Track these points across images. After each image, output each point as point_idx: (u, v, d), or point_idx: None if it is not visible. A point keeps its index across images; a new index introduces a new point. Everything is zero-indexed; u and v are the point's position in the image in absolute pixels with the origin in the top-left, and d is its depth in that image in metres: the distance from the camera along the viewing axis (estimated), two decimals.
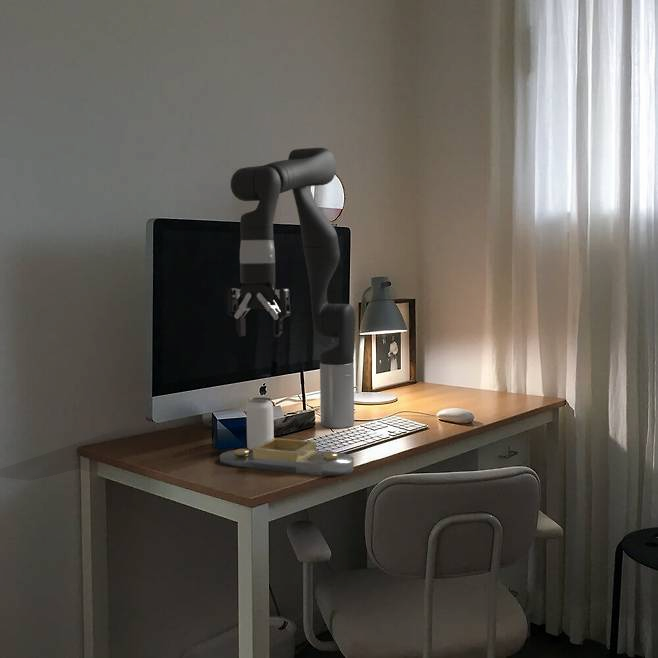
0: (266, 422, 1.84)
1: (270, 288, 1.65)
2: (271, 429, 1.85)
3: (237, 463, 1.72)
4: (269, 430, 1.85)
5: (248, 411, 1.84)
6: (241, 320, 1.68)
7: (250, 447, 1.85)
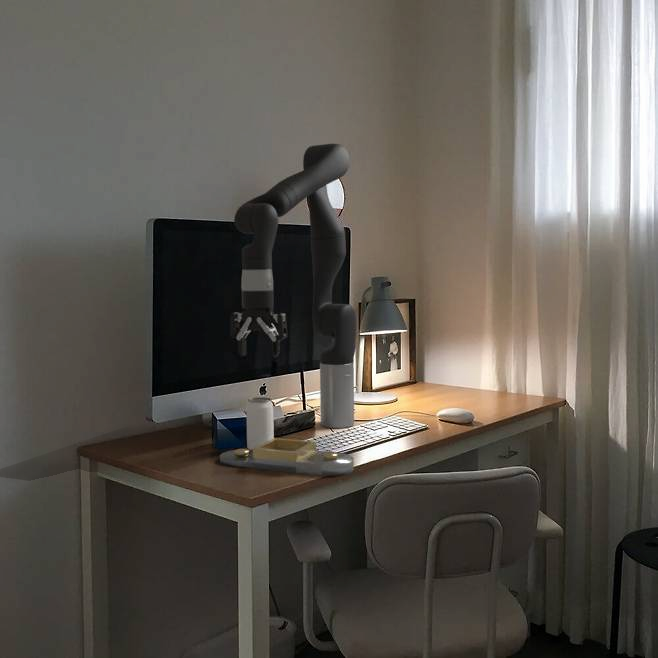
0: (266, 422, 1.84)
1: (269, 313, 1.82)
2: (271, 429, 1.85)
3: (237, 463, 1.72)
4: (269, 430, 1.85)
5: (248, 411, 1.84)
6: (242, 341, 1.86)
7: (250, 447, 1.85)
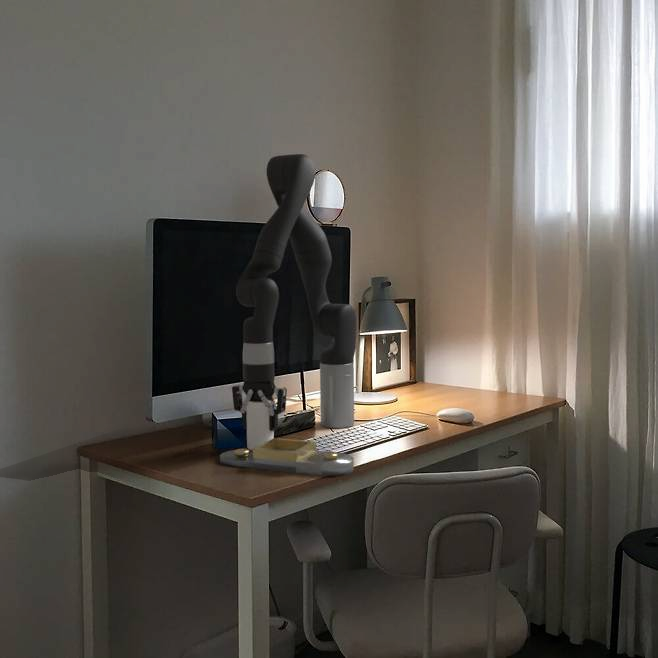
0: (266, 422, 1.84)
1: (270, 386, 1.83)
2: None
3: (237, 463, 1.72)
4: (269, 430, 1.85)
5: (248, 411, 1.84)
6: (246, 414, 1.87)
7: (250, 447, 1.85)
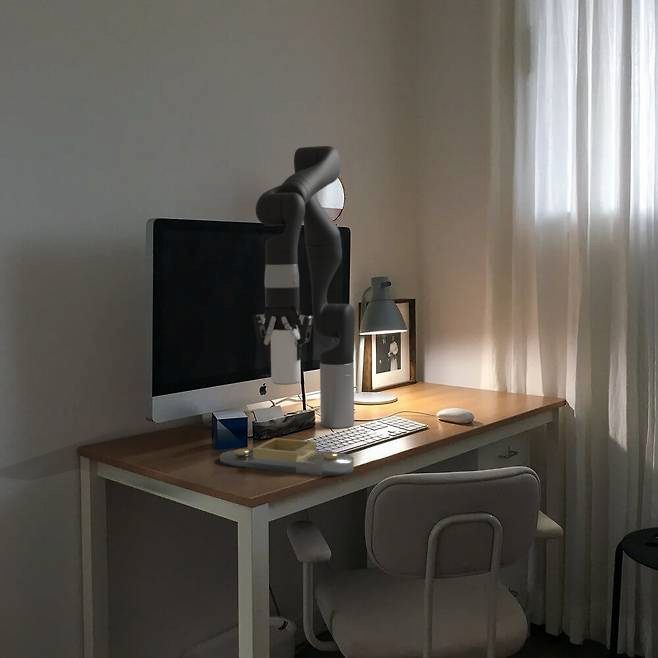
0: (293, 352, 1.67)
1: (295, 312, 1.67)
2: (298, 360, 1.69)
3: (237, 463, 1.72)
4: (296, 361, 1.68)
5: (273, 340, 1.68)
6: (270, 346, 1.70)
7: (275, 380, 1.68)
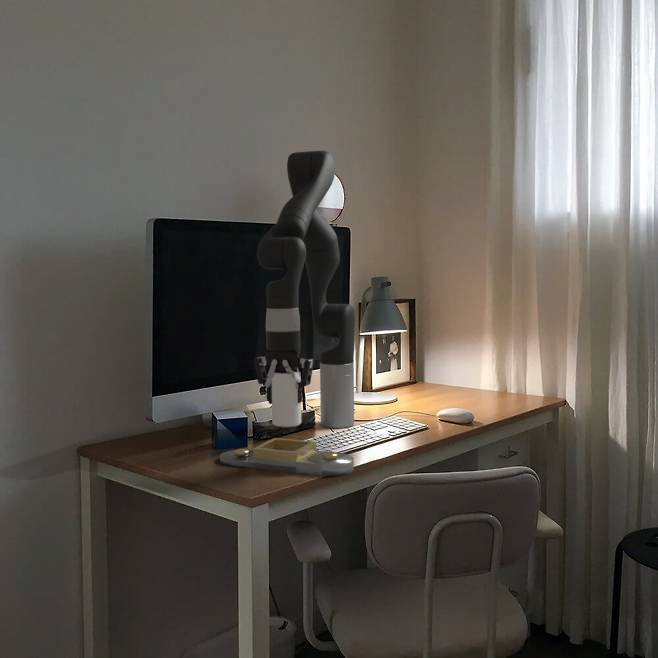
0: (294, 395, 1.68)
1: (296, 356, 1.68)
2: (299, 403, 1.70)
3: (237, 463, 1.72)
4: (297, 404, 1.69)
5: (274, 383, 1.69)
6: (271, 388, 1.71)
7: (276, 423, 1.69)
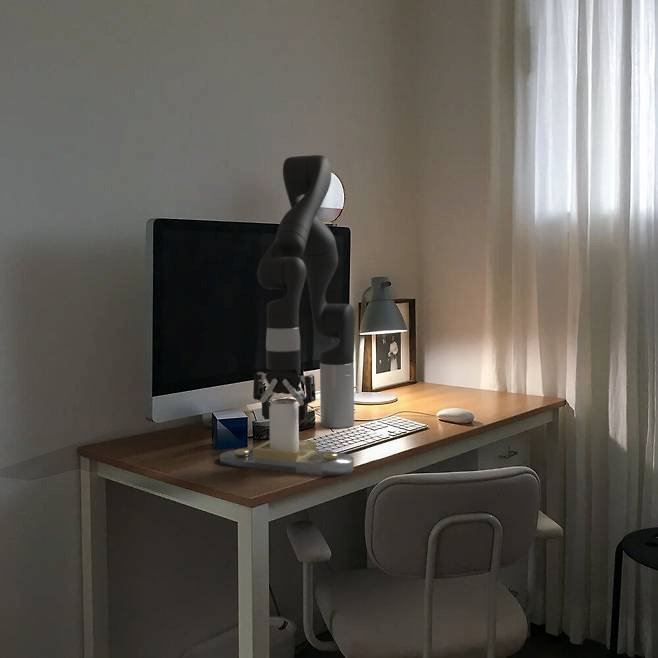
0: (292, 425, 1.69)
1: (296, 375, 1.68)
2: (296, 433, 1.71)
3: (237, 463, 1.72)
4: (295, 434, 1.70)
5: (272, 413, 1.70)
6: (267, 404, 1.72)
7: None
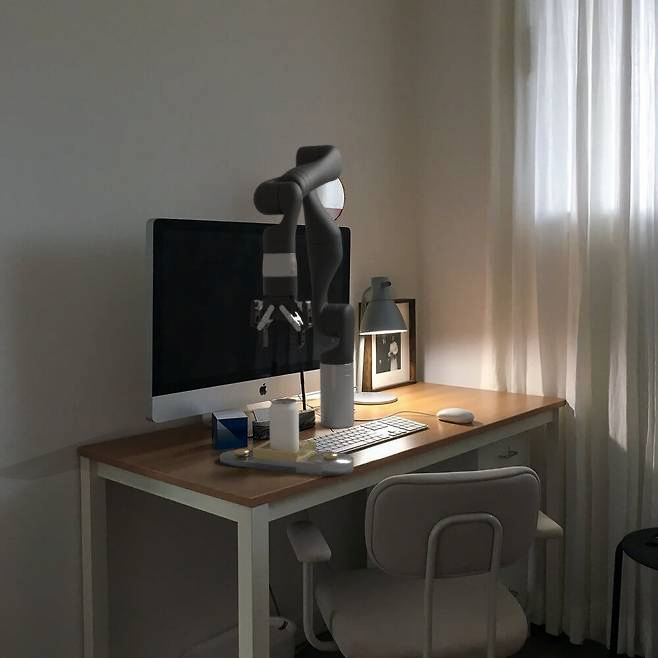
0: (292, 425, 1.69)
1: (293, 300, 1.68)
2: (297, 433, 1.71)
3: (237, 463, 1.72)
4: (295, 434, 1.70)
5: (272, 413, 1.70)
6: (264, 331, 1.72)
7: None
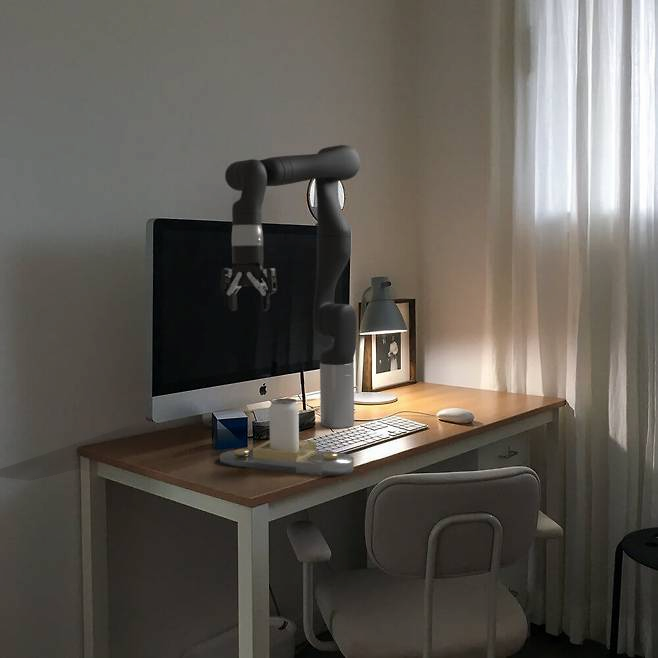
0: (292, 425, 1.69)
1: (258, 268, 1.85)
2: (296, 433, 1.71)
3: (237, 463, 1.72)
4: (295, 434, 1.70)
5: (272, 413, 1.70)
6: (233, 296, 1.89)
7: None
